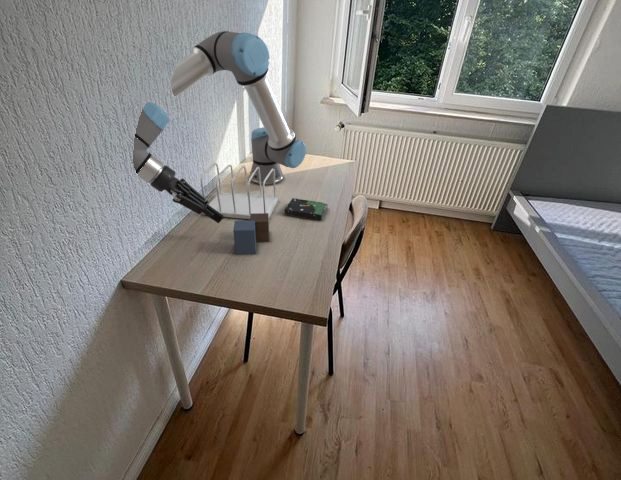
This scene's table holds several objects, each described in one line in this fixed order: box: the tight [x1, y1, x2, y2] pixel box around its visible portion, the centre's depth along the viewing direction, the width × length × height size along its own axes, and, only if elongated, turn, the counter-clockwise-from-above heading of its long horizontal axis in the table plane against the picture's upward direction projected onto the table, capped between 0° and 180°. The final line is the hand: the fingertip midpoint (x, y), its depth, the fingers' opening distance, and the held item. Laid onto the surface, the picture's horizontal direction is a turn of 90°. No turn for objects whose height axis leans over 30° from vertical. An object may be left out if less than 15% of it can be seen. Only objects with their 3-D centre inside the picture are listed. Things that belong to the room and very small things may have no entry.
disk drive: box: [284, 197, 329, 221], centre depth 136 cm, size 10×3×15 cm
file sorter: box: [200, 162, 279, 220], centre depth 133 cm, size 25×17×16 cm
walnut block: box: [249, 213, 270, 243], centre depth 118 cm, size 6×6×8 cm
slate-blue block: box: [232, 219, 257, 255], centre depth 112 cm, size 6×6×9 cm
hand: (220, 219), depth 114 cm, fingers closed
